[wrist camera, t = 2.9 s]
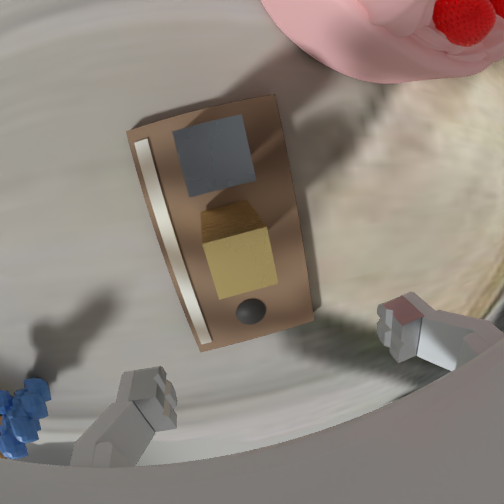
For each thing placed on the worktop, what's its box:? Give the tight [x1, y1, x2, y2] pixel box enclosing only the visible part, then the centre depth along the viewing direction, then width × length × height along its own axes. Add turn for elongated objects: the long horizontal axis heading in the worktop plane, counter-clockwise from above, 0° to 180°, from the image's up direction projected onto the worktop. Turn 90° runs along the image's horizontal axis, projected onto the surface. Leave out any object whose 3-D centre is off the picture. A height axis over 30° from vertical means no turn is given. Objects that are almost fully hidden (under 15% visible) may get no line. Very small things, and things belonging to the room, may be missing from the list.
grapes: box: [0, 378, 51, 459], centre depth 21 cm, size 12×7×12 cm, turn 130°
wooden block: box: [200, 200, 278, 300], centre depth 20 cm, size 4×4×7 cm
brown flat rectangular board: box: [126, 94, 314, 352], centre depth 24 cm, size 20×11×1 cm, turn 12°
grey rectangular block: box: [172, 114, 256, 198], centre depth 18 cm, size 4×4×7 cm
